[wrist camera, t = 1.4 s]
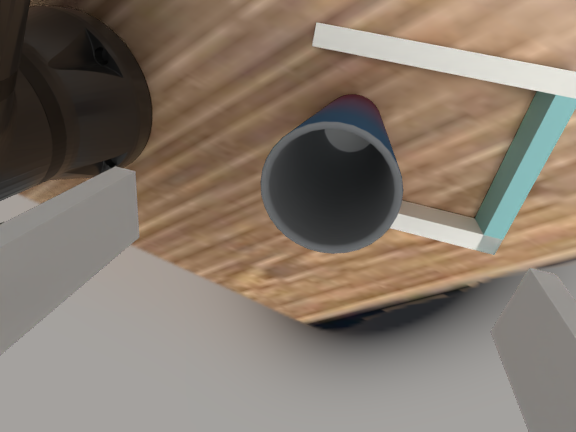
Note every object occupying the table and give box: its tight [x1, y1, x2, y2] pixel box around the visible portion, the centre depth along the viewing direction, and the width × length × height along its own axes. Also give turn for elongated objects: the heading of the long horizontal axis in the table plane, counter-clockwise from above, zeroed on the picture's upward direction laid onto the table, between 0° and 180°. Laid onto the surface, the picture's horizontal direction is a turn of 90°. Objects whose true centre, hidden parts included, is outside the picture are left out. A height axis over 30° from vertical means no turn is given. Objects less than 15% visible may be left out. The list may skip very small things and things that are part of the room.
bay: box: [312, 22, 576, 255], centre depth 28 cm, size 18×14×3 cm
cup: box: [261, 95, 403, 254], centre depth 23 cm, size 7×7×15 cm
